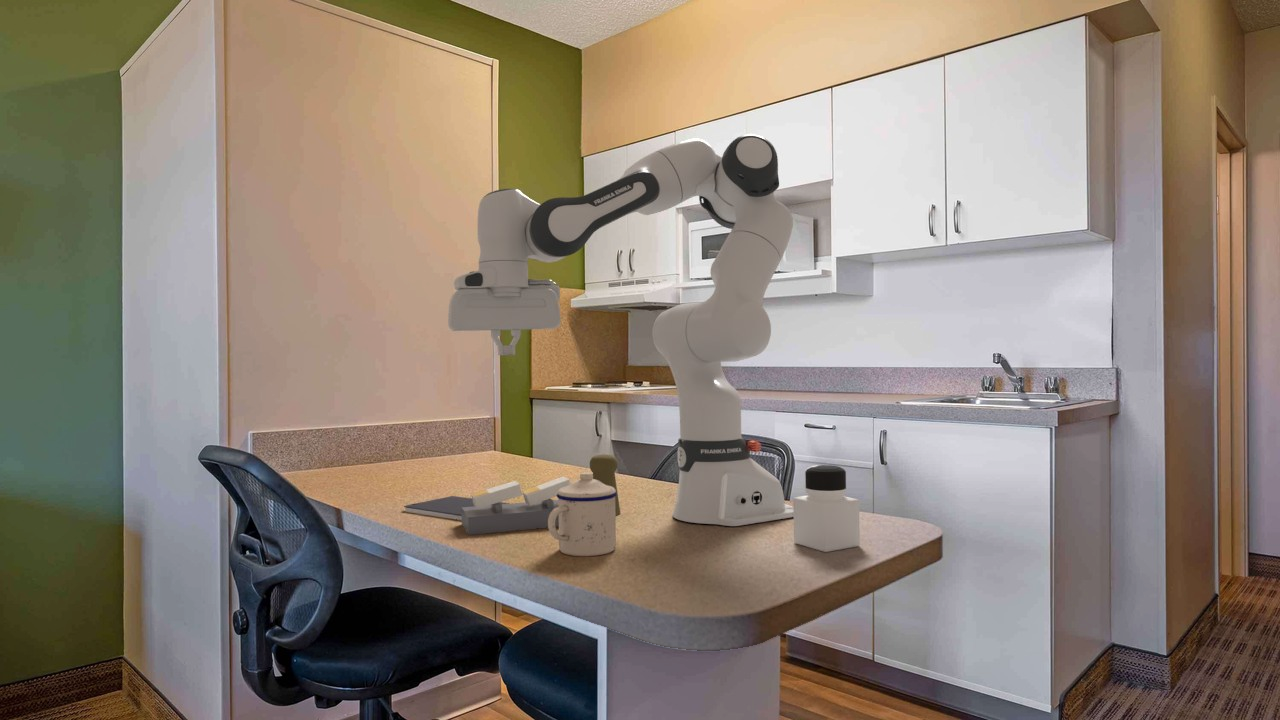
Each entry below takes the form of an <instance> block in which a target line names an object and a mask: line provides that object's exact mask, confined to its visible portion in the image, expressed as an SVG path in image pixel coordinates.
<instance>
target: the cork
mask: <svg viewBox="0 0 1280 720" xmlns="http://www.w3.org/2000/svg"><path fill="white" fill-rule="evenodd" d="M589 468H590V471H591V473H592V474H593V479H595V480H598V481H600V482H602V483H603V484H605V485H608V486H611V487H613V488H614V489H615V490H616V493H617V495H616V496H615V516H619V515H621V506H620V500H619V499H620V498H619V494H618V487H617V482H616V481H617V480H616V474H615V473H616V471H617V468H618V459H617V457H616V456H614V455H612V454H606V453H605V454H597V455H594V456H592V457H591V458H590V460H589Z"/></svg>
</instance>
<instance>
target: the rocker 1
mask: <svg viewBox="0 0 1280 720" xmlns="http://www.w3.org/2000/svg"><path fill="white" fill-rule="evenodd" d="M470 496H471V498H472V500H473V504H474V506H475V507H476V508H477V509H479V508H482V507H485V506H489V505H492V504H495V503H498V502H504V501H507V500H512V499H515V498H518V497H521V496H523V493H522V489H521V484H520V483H519V482H518V481H516V480H513V481H509V482H507V483H504V484H500V485H496V486H493V487H490V488H486V489H483V490H479V491H476V492H473V493H472V492H471V495H470Z"/></svg>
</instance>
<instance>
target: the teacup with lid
mask: <svg viewBox="0 0 1280 720" xmlns="http://www.w3.org/2000/svg"><path fill="white" fill-rule="evenodd" d="M570 483H571V484H570V485H568V486H566V487H563V488H561V489H559V491H558V494H557V496H556V498H557V500H558V507H557V508H555V509H554V510H553V511H552V512H551V513H550V515H549V518H548V528H547V529H548V531H549V533H550V535H551V536H552V538H554V539H555V540H558V548H559V552H561V553H562V554H564V555H568V556H573V557H595V556H602V555H607V554H610V553H612V552H614V551H615V549H616V547H617V533H616V531H617V530H616V529H617V528H616V527H617V526H616V524H617V522H616V520H617V519H616V518H617V517H616V516H615V496H616V495H617V493H616V490H615V489H614V488H613V487H611V486H608V485H605V484H603V483H602V482H600V481H598V480H595V479H593V472H581V473H580V474H579V479H577V480H574V481H573V482H570ZM558 514H559V527H558V529H557V527H556V526H555V521H556V517H557V516H558Z"/></svg>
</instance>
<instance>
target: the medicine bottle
mask: <svg viewBox="0 0 1280 720" xmlns="http://www.w3.org/2000/svg"><path fill="white" fill-rule="evenodd" d="M804 477H805V479H804V481H805V482H804V483H805V487H804V488H805V489H804V490H805V493H806V494H807V495H801V496H795V497H793V499H792V500H793V501H792V504H793V506H792V507H793V514H794V517H793V543H794V544H797V545H799V546H803V547H807V548H810V549H813V550H817V551H819V552H824V553H829V552H834V551H839V550H844V549H845V550H846V549H850V548H851V549H852V548H856V547H857V548H858V547H860V544H861V543H860V542H861V541H860V538H861V537H860V534H861V533H860V500H859V499H857V498H852V497H848V496H845V495H846V494H847V471H846V470H845V469H844V468H842V467H841V466H838V465H831V464H825V465H824V464H816V465H811V466H809V467H807V468H806V469H805V471H804Z"/></svg>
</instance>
